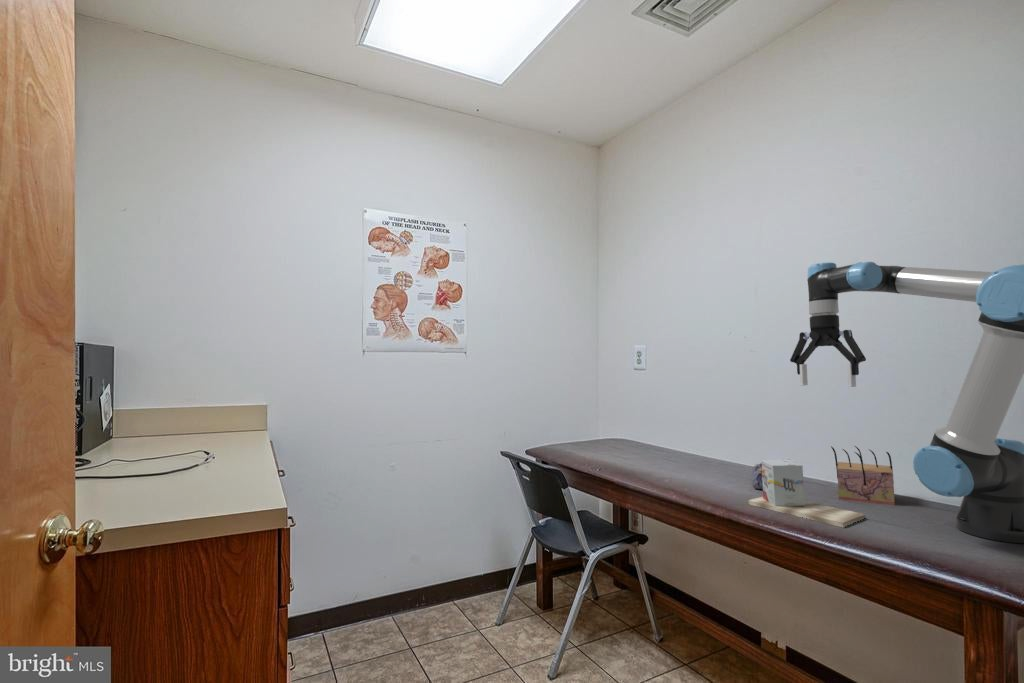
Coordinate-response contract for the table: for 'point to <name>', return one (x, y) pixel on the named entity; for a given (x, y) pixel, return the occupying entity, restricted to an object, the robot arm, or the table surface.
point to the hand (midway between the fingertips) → (827, 386)
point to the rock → (757, 476)
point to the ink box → (783, 482)
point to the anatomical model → (865, 481)
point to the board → (813, 512)
